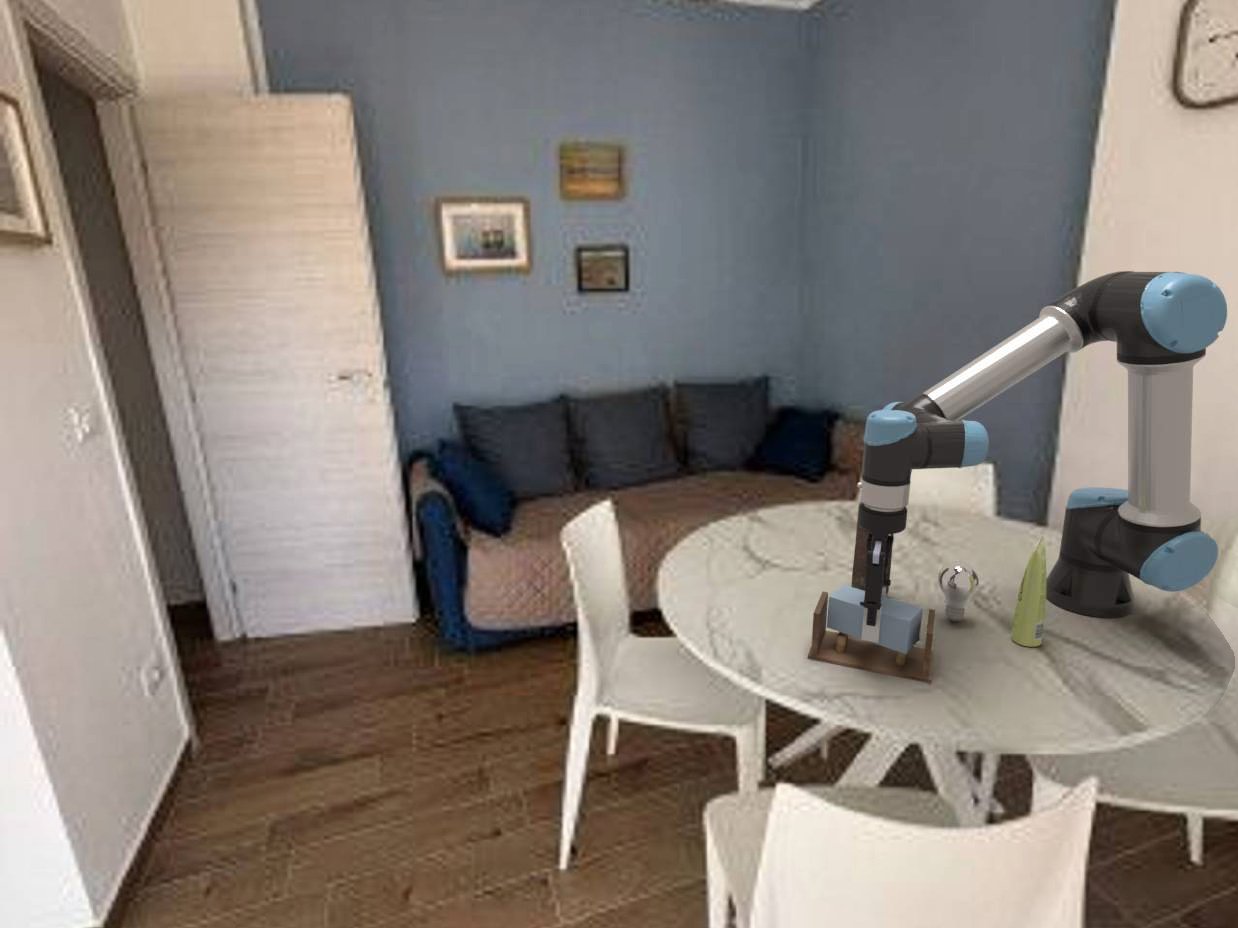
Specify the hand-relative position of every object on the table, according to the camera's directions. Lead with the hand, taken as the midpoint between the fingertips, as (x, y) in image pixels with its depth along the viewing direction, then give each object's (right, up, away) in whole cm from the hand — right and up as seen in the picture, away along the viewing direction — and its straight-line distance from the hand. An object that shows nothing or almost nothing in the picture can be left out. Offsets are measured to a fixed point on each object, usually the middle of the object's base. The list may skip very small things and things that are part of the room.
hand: (872, 629), depth 127 cm
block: (0, -1, 0) cm, 1 cm away
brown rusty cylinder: (+8, +2, +25) cm, 26 cm away
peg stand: (0, -5, +1) cm, 5 cm away
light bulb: (+20, -1, +13) cm, 24 cm away
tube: (+30, -3, +5) cm, 30 cm away
